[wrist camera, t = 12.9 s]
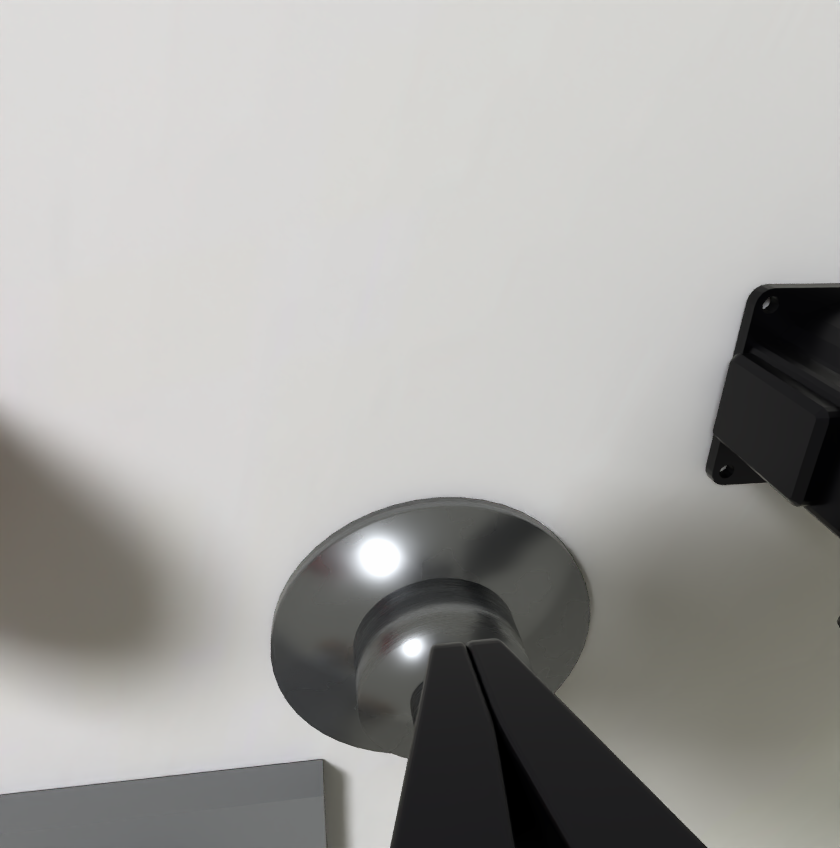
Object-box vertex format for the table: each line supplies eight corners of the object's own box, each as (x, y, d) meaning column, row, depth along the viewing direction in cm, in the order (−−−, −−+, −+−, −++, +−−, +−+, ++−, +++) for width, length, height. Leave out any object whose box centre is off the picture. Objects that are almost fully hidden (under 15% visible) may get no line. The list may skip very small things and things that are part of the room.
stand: (605, 487, 22) (708, 629, 17) (563, 724, 27) (632, 896, 22) (259, 507, 21) (243, 671, 15) (281, 754, 26) (275, 949, 20)
